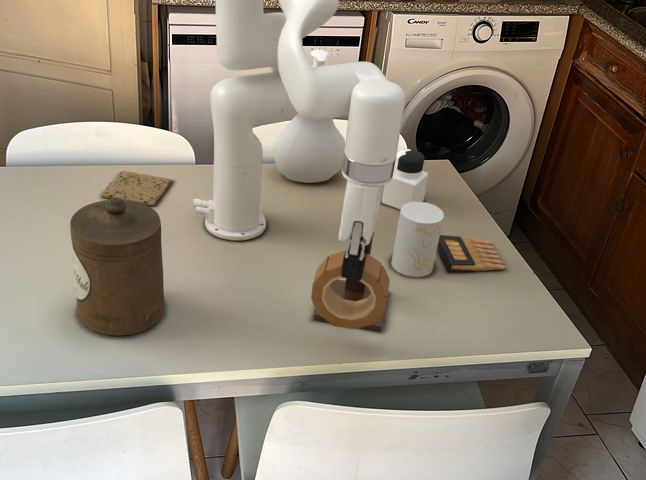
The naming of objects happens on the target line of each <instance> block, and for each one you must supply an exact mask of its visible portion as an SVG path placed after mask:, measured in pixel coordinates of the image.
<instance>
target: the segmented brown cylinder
mask: <svg viewBox="0 0 646 480" xmlns="http://www.w3.org/2000/svg"><path fill="white" fill-rule="evenodd" d="M344 254H346V249H344V250H341V251H339V252H335V253H331V254H329V255H328V256H327V257H326V258H325V259H324V260H323V261H322V262H321V263H320V264H319V265H318V267H317V269H316V272H315V275H314V279H313V282H312V287H311V294H310V295H311V296H310V299H311V302H312V304H313V306H314V308H315V309H316V310H317V312H318V314H321V315H320V316H321V317H323V318H324V319H326V320H327V321H329V322H330V323H329V322H328V323H329V324H331V325H333V326H335V327H339V328H344V329H351V330H354V329H361V328H360V327H364V326H368V325H371V323H374V322H375V321H376V320H377V319H378V318H379V317H380V316H381V315H382V314H383V313H384V314H385V311H386V307H387V301H388V295H389V290H390V284H391V283H390V282H391V280H390V277H389V275H388V273H387V271H386V269H385V266H384V264H383V263H382V262H380V261H379V260H377V259H376V258H375V257H373V256H372V255H371V254H370V255H369V254H367V255H366V256H365V253H364V256H363V258H365V260H364V267H363V274H362V279H361V280H359V281H360V282H362V283H363V284H365V285H366V286H368V287H369V290H370V292H371V295H370V296H369V297H368V298H366V299H363V300H359V301H350V300H344V299H342V298H341V297H340V296H338V295H337V294H335V293H334V292H333V290H332V288H331V286H330V284H331V283H332V282H333V281H335V280H342V279H344V278H343V277H342V276H341V274H342V266H343V259H344ZM382 264H383V265H382ZM335 323H336V324H335Z"/></svg>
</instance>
